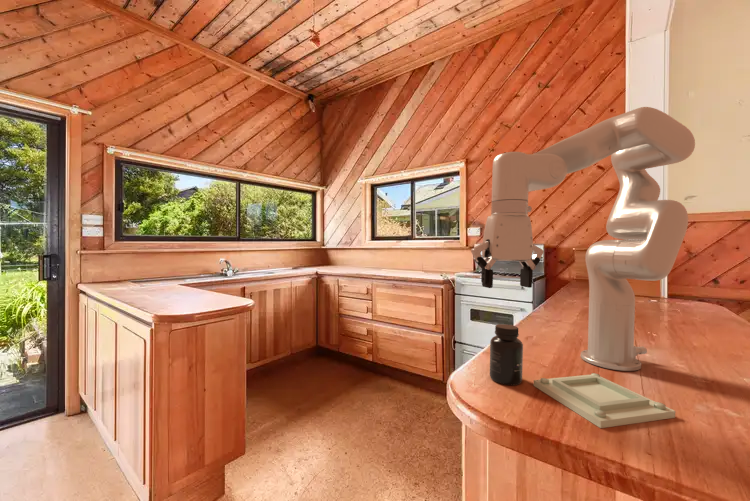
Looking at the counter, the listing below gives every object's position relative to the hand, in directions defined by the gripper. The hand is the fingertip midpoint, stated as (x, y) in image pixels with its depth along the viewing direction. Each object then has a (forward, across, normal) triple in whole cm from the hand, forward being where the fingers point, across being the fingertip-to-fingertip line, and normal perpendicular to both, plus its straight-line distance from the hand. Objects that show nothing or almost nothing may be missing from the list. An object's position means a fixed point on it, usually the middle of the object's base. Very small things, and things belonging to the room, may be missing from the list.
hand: (506, 286), depth 71 cm
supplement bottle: (+21, 0, 0) cm, 21 cm away
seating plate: (+21, -12, +12) cm, 27 cm away
